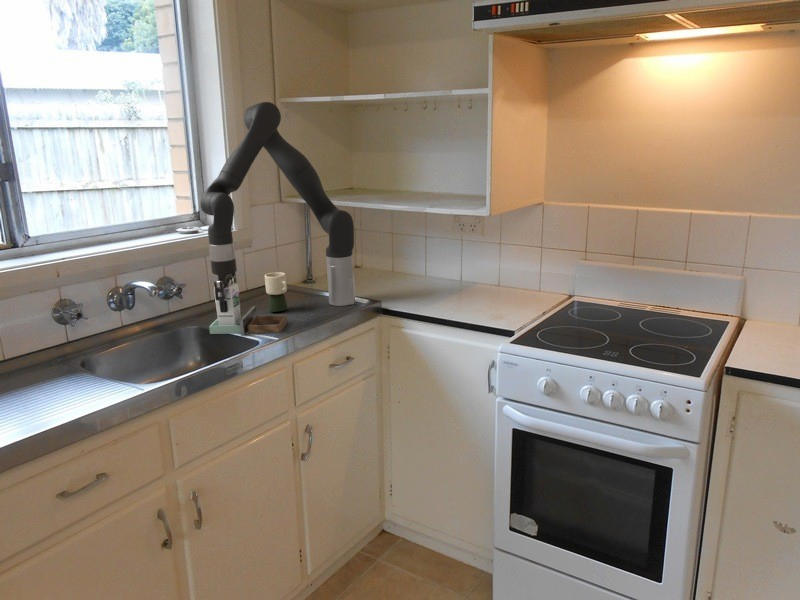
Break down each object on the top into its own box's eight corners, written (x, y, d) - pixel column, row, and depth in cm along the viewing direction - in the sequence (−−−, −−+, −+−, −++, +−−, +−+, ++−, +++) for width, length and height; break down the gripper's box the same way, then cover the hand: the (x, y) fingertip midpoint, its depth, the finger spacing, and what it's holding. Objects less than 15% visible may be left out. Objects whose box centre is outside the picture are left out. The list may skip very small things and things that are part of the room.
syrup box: (236, 331, 196) (231, 286, 192) (218, 331, 197) (213, 286, 193) (243, 326, 201) (238, 282, 197) (226, 325, 202) (221, 282, 198)
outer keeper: (250, 323, 203) (249, 316, 203) (241, 333, 194) (241, 325, 193) (220, 324, 204) (219, 316, 203) (210, 333, 194) (209, 326, 194)
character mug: (296, 311, 215) (293, 274, 212) (280, 316, 210) (277, 278, 207) (276, 306, 222) (273, 270, 219) (260, 311, 217) (256, 274, 213)
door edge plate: (257, 321, 206) (255, 306, 204) (244, 335, 191) (242, 320, 190) (254, 321, 206) (252, 306, 204) (241, 336, 191) (239, 320, 190)
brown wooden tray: (287, 322, 203) (286, 315, 202) (280, 332, 193) (279, 325, 193) (256, 323, 203) (255, 315, 203) (248, 333, 194) (247, 325, 193)
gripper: (227, 262, 186) (233, 314, 190) (241, 252, 199) (246, 301, 204) (202, 263, 186) (209, 315, 190) (218, 253, 200) (223, 302, 204)
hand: (228, 308), depth 197 cm, fingers open, 8 cm apart
